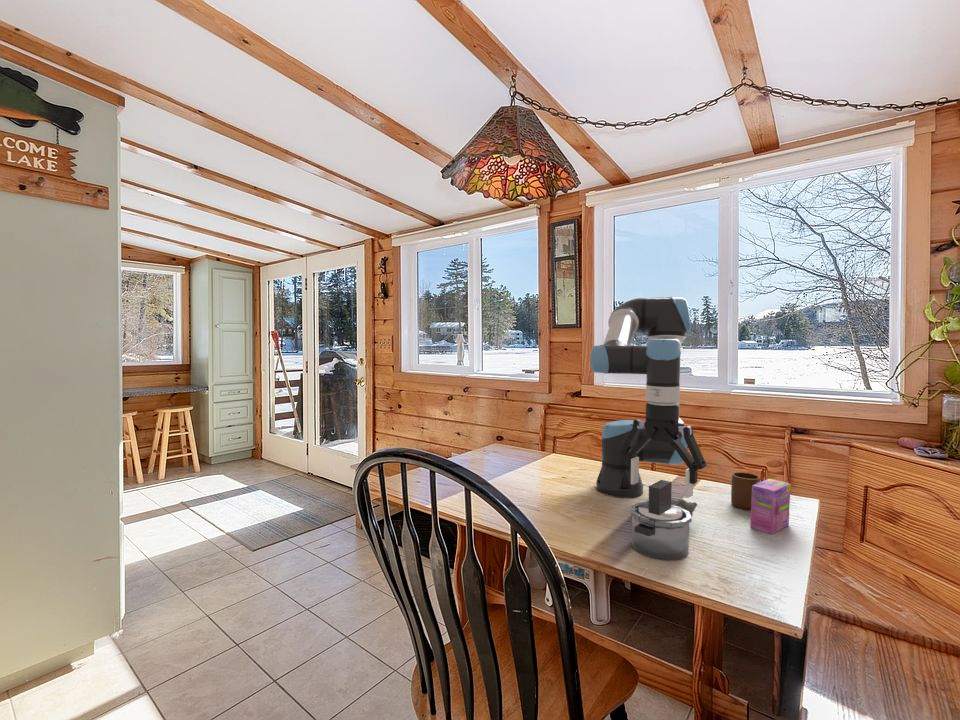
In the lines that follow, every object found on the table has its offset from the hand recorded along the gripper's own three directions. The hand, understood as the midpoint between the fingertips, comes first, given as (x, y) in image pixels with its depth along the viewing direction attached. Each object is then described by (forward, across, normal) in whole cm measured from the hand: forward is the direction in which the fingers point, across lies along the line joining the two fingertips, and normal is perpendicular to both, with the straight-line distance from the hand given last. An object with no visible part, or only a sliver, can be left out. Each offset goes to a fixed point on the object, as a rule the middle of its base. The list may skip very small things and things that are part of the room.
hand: (660, 489), depth 115 cm
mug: (+15, +7, +45) cm, 48 cm away
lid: (+6, 0, 0) cm, 6 cm away
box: (+15, +15, +34) cm, 40 cm away
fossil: (+15, -3, +17) cm, 23 cm away
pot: (+14, 0, 0) cm, 14 cm away
